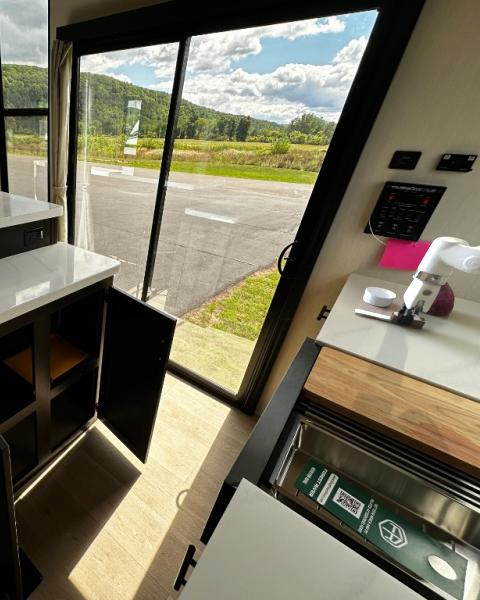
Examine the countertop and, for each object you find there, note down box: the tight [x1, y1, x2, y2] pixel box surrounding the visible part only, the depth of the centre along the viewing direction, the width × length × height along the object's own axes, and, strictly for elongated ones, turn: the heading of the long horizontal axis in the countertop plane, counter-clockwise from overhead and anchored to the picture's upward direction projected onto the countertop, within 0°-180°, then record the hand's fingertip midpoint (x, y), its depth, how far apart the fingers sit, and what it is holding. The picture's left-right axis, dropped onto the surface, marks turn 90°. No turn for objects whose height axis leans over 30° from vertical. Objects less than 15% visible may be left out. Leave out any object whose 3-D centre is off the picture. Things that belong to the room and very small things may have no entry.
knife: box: [354, 308, 427, 330], centre depth 112 cm, size 18×3×3 cm, turn 56°
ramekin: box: [363, 286, 397, 308], centre depth 122 cm, size 9×9×4 cm
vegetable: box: [420, 280, 456, 317], centre depth 114 cm, size 10×10×15 cm
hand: (401, 321), depth 111 cm, fingers closed on knife, 2 cm apart
